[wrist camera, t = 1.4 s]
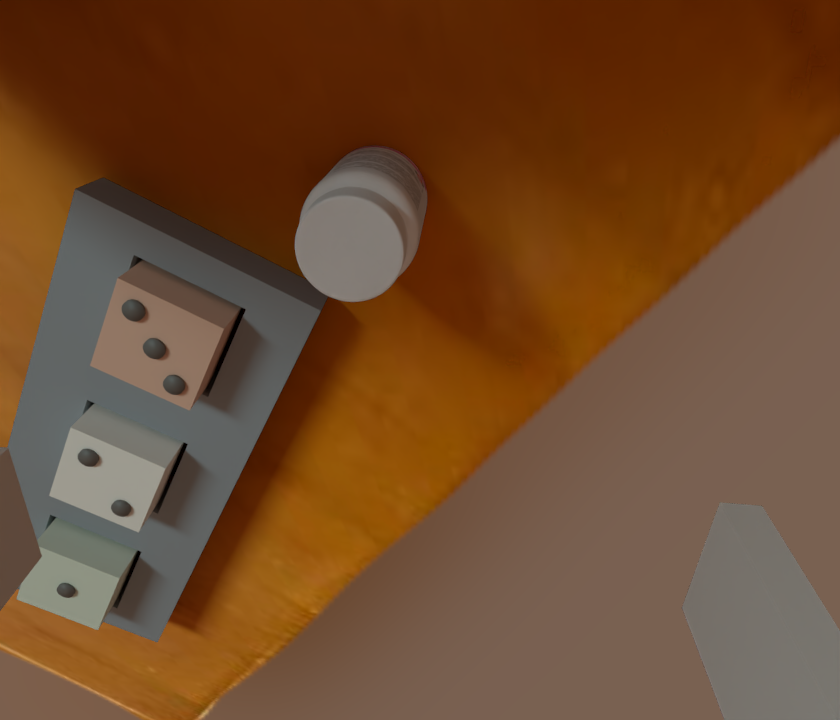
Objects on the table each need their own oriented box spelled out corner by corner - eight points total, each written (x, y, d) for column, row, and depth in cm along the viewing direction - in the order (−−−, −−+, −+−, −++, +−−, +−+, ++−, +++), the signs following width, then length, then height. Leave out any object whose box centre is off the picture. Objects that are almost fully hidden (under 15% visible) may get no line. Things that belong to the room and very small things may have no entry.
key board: (172, 611, 44) (157, 642, 42) (0, 543, 42) (-26, 572, 40) (330, 291, 33) (320, 310, 30) (103, 177, 31) (75, 189, 28)
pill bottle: (320, 148, 29) (271, 188, 22) (422, 139, 29) (408, 176, 21) (336, 248, 32) (296, 316, 24) (432, 241, 31) (422, 308, 24)
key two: (159, 500, 37) (136, 535, 35) (76, 465, 36) (46, 498, 34) (185, 438, 35) (164, 470, 33) (98, 399, 34) (68, 429, 32)
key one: (119, 595, 41) (96, 632, 39) (42, 565, 40) (14, 601, 38) (140, 544, 39) (117, 581, 36) (60, 512, 38) (31, 546, 36)
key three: (209, 383, 33) (188, 412, 31) (117, 341, 33) (87, 367, 30) (242, 306, 31) (222, 330, 29) (144, 258, 30) (115, 279, 28)
